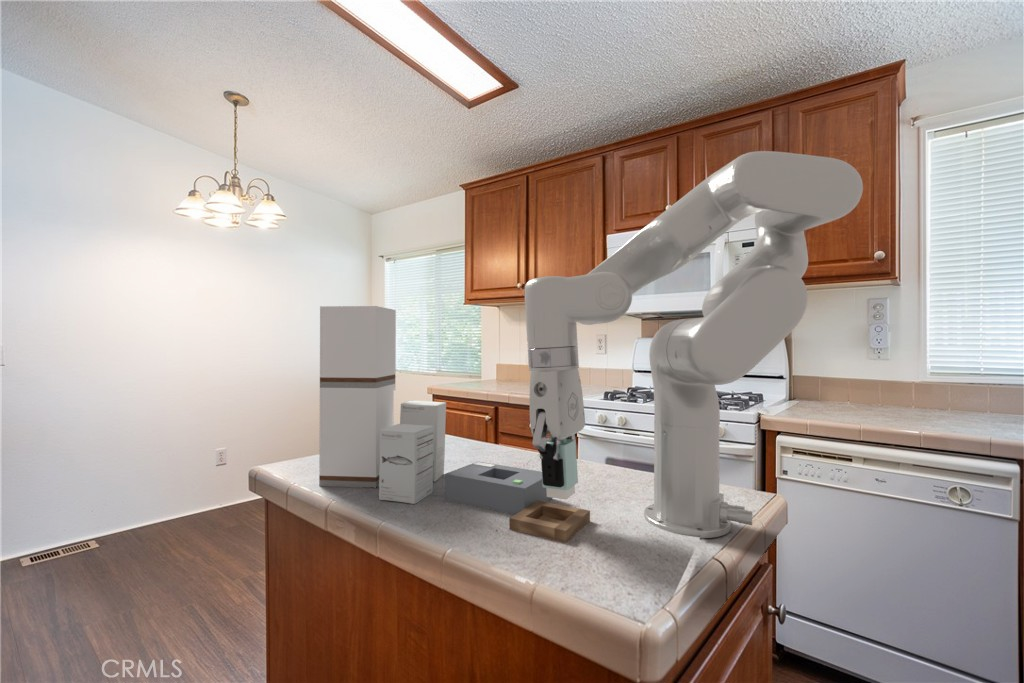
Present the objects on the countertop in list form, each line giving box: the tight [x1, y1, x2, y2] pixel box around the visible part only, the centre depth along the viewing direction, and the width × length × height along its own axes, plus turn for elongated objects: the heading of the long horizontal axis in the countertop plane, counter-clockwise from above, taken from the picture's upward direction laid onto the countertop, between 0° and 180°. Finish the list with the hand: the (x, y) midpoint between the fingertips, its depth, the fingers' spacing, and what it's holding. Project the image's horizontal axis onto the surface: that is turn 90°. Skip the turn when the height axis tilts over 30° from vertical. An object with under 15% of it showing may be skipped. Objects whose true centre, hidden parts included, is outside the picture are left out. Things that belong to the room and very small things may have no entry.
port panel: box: [444, 461, 554, 516], centre depth 82 cm, size 16×10×5 cm, turn 59°
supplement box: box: [378, 423, 434, 505], centre depth 85 cm, size 7×7×13 cm
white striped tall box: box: [318, 305, 397, 489], centre depth 96 cm, size 11×11×35 cm
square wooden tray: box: [508, 501, 591, 544], centre depth 70 cm, size 9×9×2 cm
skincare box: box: [399, 400, 447, 483], centre depth 98 cm, size 8×7×16 cm
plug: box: [540, 434, 579, 500], centre depth 70 cm, size 4×4×9 cm
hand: (560, 479), depth 70 cm, fingers closed on plug, 4 cm apart
